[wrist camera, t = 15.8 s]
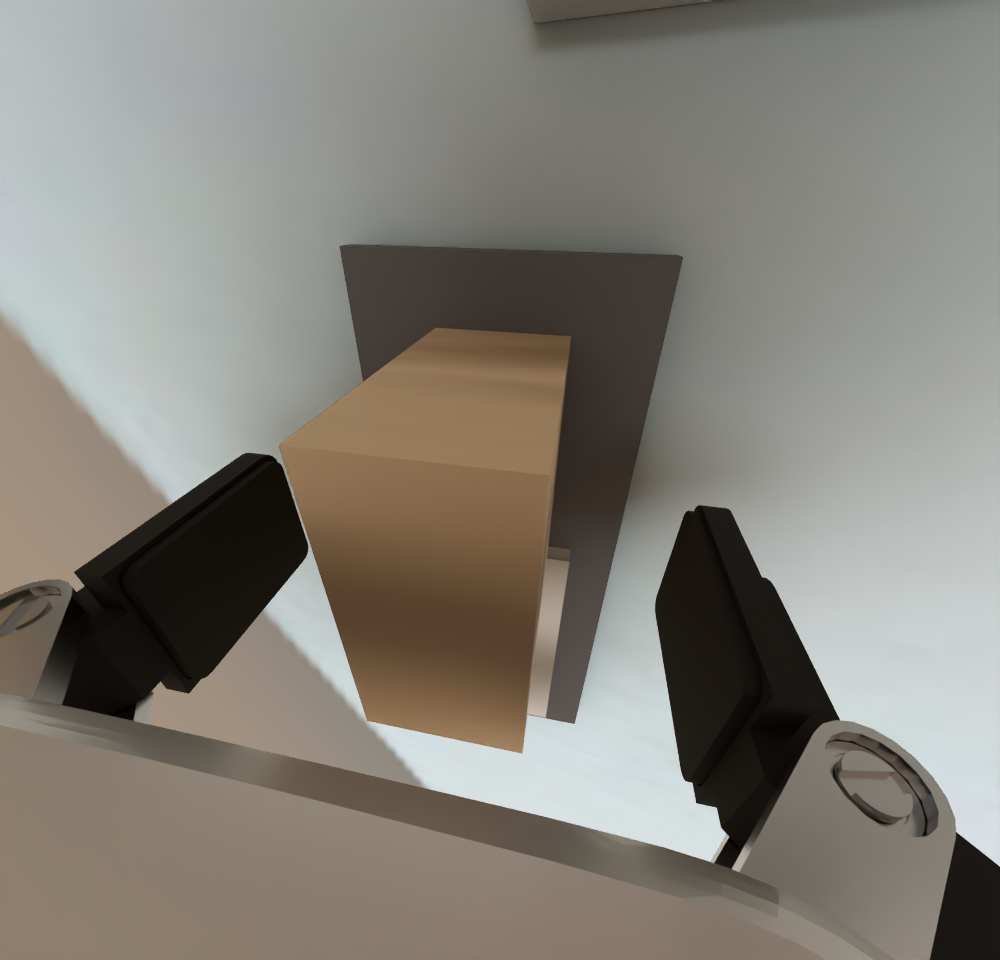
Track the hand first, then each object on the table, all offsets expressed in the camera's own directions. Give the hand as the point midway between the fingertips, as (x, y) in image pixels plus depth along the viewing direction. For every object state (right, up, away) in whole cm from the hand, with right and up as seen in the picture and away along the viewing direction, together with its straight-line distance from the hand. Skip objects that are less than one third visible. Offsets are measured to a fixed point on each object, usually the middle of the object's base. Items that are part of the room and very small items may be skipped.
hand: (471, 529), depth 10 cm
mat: (+1, -2, +6) cm, 6 cm away
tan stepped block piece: (+1, -2, +5) cm, 6 cm away
